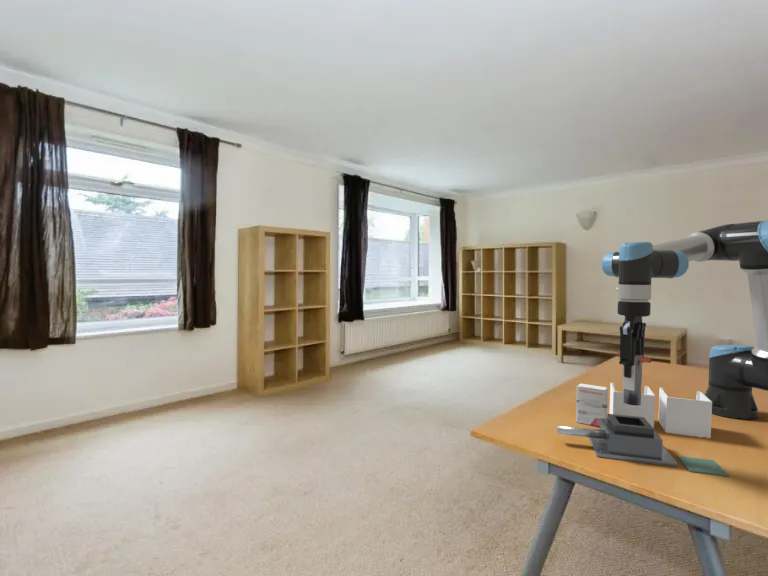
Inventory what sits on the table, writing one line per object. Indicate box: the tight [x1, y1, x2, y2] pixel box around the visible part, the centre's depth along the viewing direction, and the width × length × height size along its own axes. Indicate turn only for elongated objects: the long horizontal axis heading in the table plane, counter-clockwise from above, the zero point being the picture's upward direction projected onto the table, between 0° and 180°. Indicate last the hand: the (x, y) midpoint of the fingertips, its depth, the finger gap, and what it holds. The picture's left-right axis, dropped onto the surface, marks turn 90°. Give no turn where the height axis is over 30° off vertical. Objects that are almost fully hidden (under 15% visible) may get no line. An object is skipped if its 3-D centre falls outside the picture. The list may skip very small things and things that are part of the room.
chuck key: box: [616, 351, 652, 406], centre depth 113 cm, size 4×9×13 cm, turn 22°
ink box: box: [575, 383, 609, 428], centre depth 133 cm, size 9×5×12 cm, turn 55°
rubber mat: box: [676, 455, 730, 478], centre depth 105 cm, size 8×8×1 cm
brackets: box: [608, 382, 713, 439], centre depth 132 cm, size 25×11×11 cm, turn 67°
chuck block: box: [556, 413, 678, 467], centre depth 115 cm, size 27×14×8 cm, turn 73°
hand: (631, 387), depth 113 cm, fingers closed on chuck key, 4 cm apart
